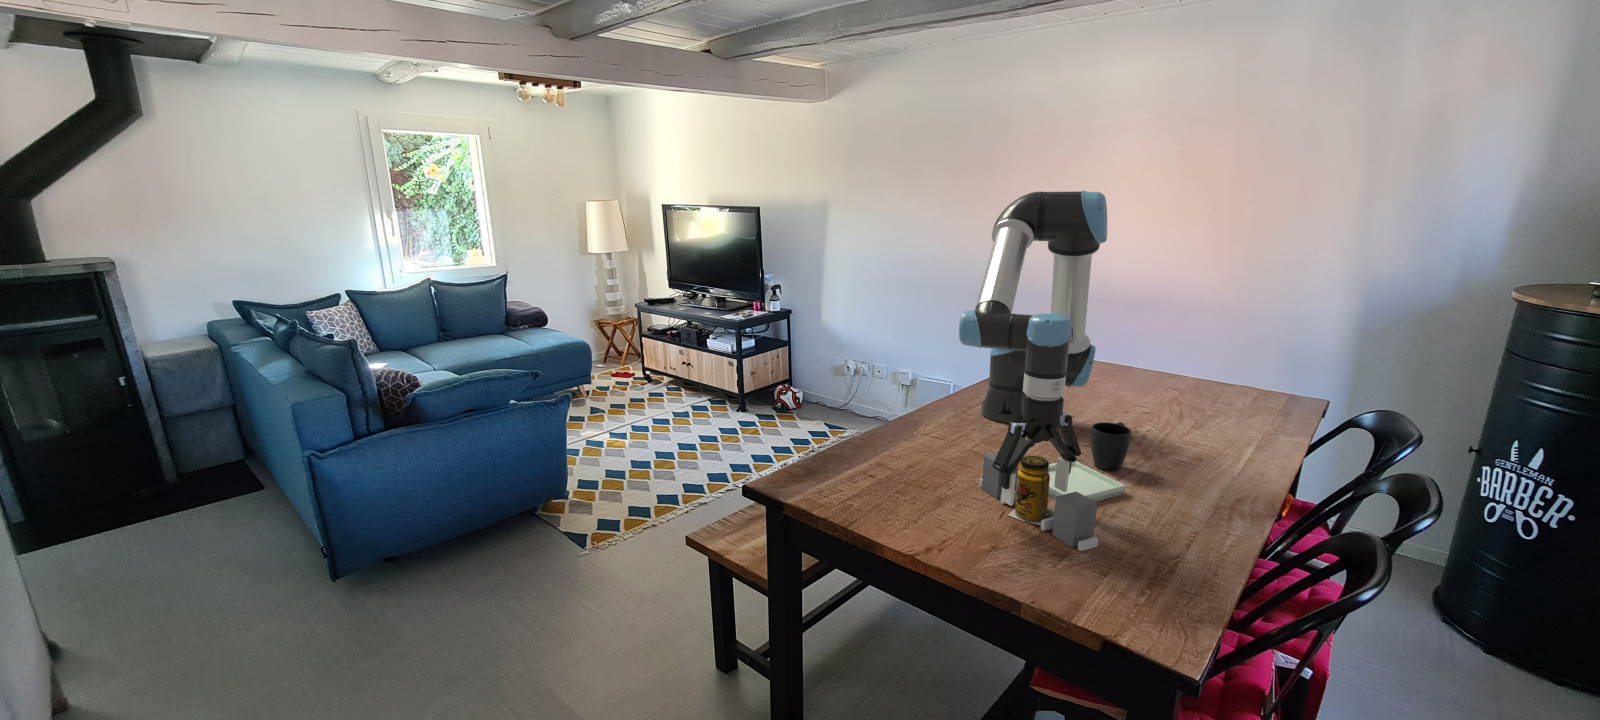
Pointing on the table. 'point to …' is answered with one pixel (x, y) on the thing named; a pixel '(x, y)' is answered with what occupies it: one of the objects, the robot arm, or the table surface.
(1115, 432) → the mug
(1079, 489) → the tray
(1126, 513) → the table surface
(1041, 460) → the condiment
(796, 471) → the table surface
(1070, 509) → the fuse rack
